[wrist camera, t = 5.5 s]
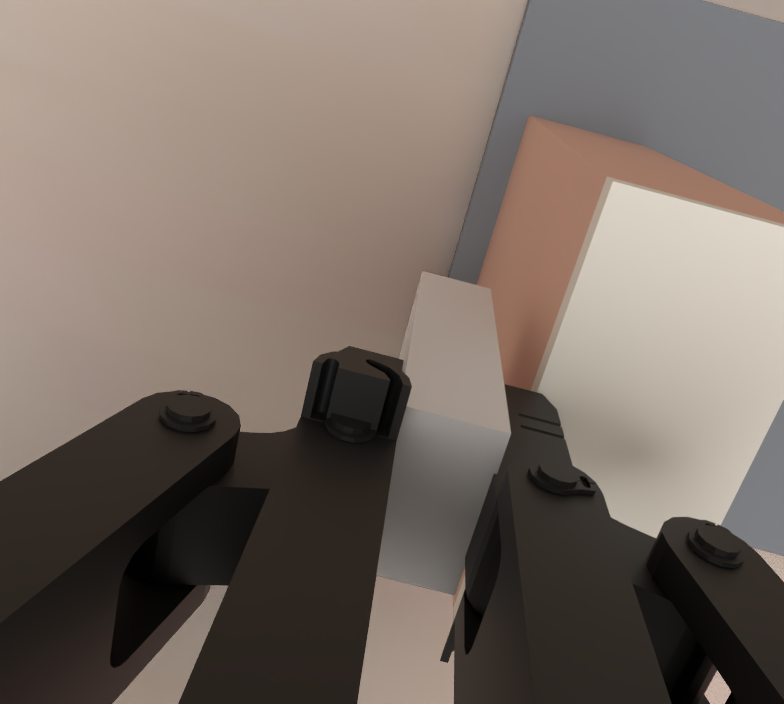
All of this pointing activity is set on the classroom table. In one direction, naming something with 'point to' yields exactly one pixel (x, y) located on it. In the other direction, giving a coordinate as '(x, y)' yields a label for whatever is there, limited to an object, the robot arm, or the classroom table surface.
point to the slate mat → (652, 135)
